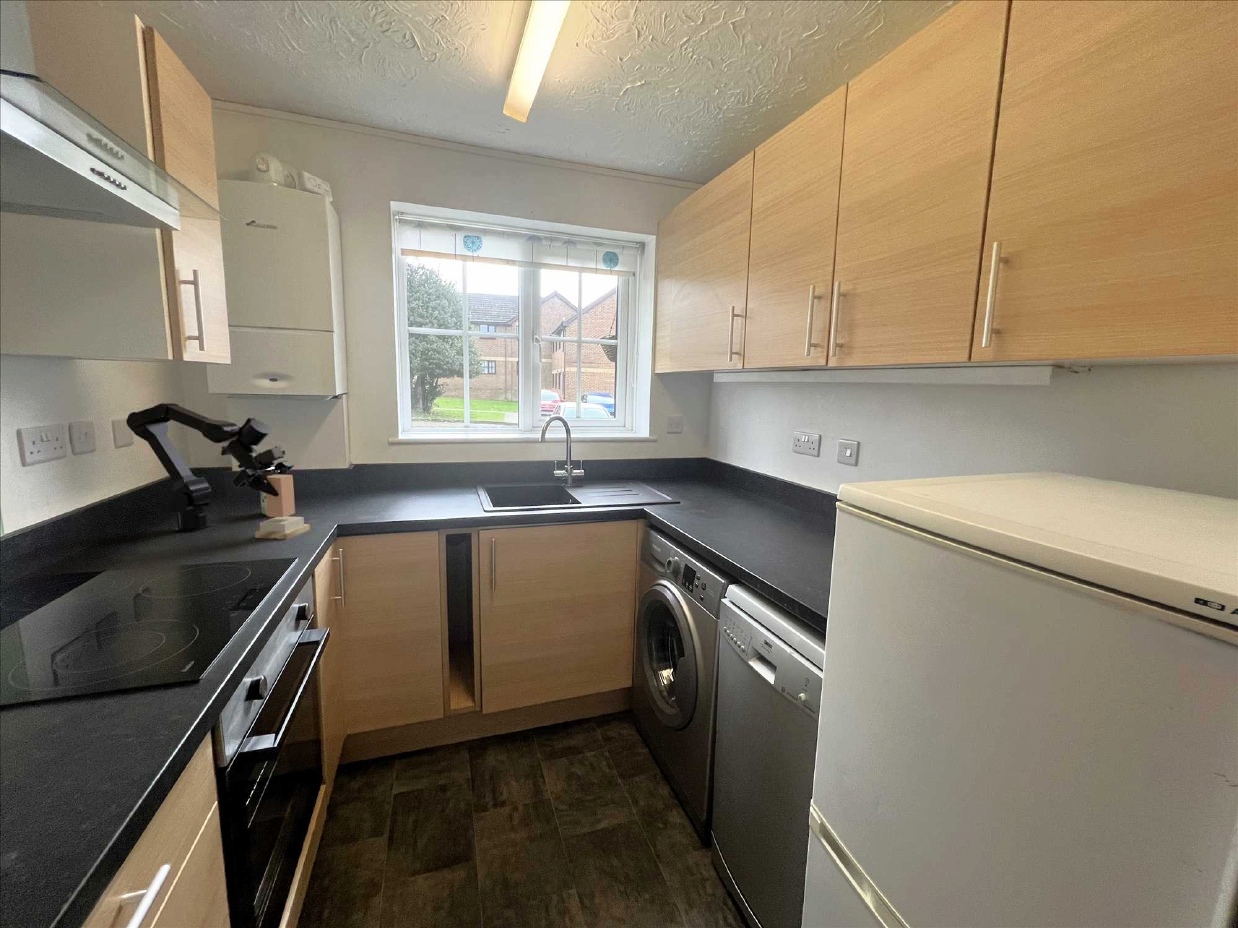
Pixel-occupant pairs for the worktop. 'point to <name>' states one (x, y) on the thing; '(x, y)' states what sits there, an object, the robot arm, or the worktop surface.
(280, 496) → the pillar block
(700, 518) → the worktop surface
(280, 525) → the top slab
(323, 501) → the worktop surface
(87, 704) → the worktop surface
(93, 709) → the worktop surface
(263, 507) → the ink box
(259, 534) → the base slab
